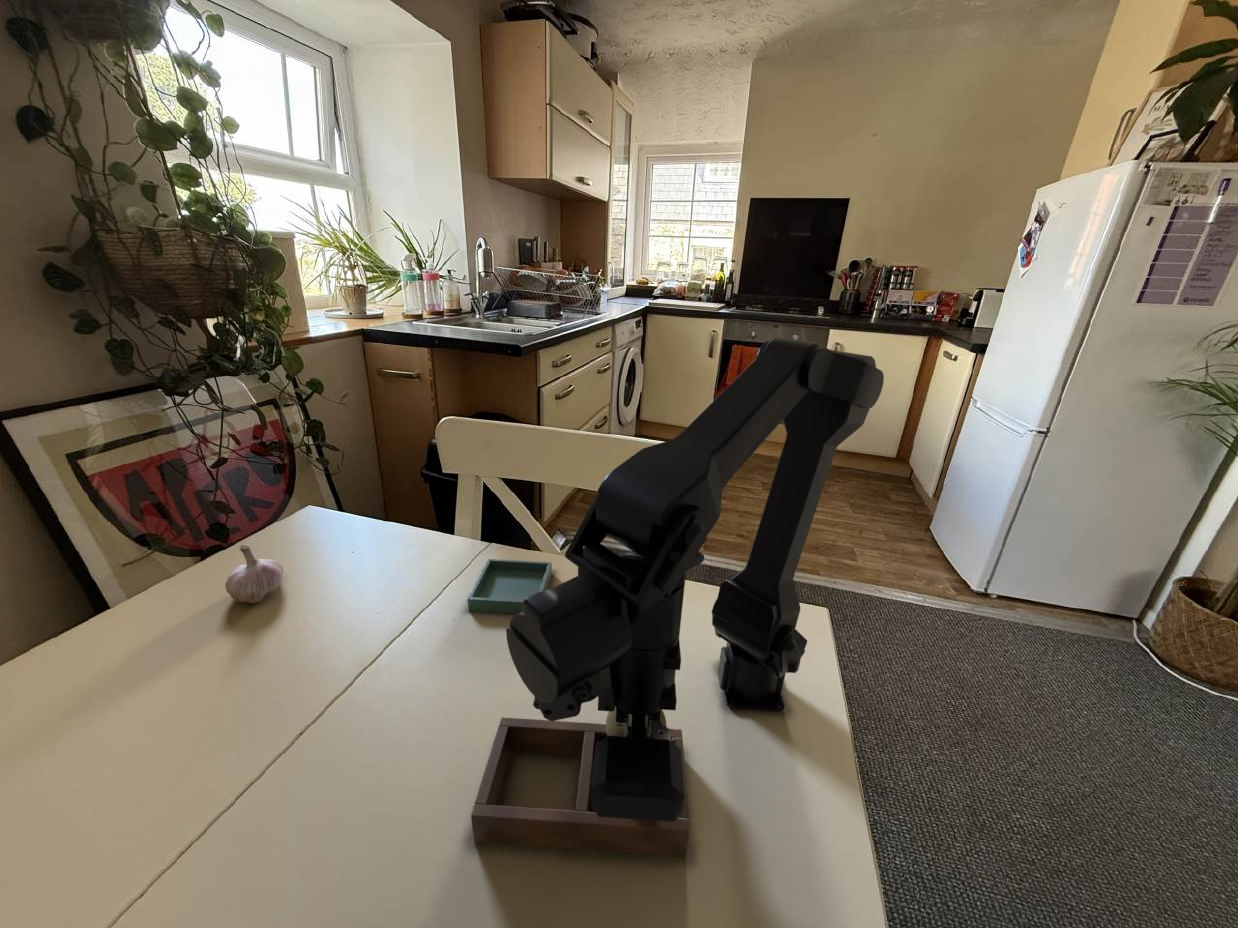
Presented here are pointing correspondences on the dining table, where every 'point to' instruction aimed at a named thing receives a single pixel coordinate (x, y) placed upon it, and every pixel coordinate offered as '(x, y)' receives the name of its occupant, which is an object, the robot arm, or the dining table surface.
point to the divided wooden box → (580, 824)
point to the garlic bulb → (253, 578)
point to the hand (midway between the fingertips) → (633, 763)
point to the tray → (508, 585)
